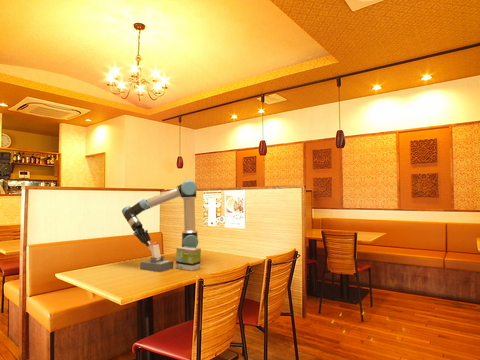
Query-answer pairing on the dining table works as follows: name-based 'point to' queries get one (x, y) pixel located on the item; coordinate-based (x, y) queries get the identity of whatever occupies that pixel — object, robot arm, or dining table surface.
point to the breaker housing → (156, 264)
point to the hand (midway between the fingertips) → (151, 249)
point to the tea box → (188, 258)
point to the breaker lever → (155, 250)
